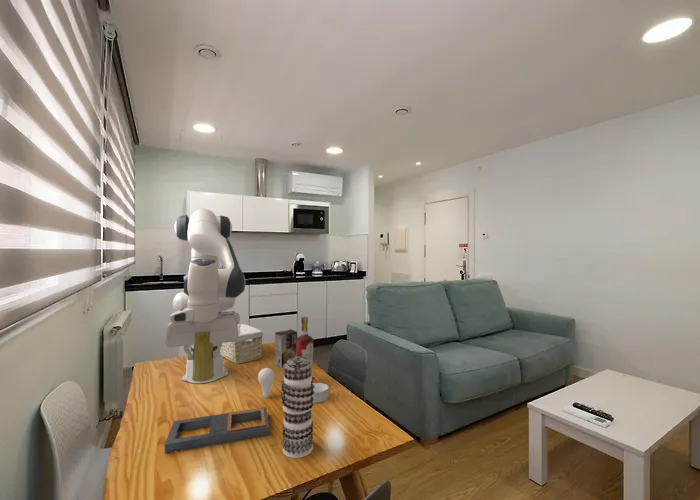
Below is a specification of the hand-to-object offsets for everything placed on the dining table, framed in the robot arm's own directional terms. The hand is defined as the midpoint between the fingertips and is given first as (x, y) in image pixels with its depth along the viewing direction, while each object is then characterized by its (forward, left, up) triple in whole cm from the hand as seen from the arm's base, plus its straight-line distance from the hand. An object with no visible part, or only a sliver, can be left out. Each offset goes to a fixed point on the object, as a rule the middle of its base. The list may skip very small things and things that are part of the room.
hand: (203, 358), depth 98 cm
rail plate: (0, +5, -23) cm, 24 cm away
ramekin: (-13, +38, -23) cm, 46 cm away
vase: (0, 0, -6) cm, 6 cm away
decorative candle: (+16, +26, -23) cm, 38 cm away
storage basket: (-74, +10, -23) cm, 79 cm away
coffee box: (-54, +32, -23) cm, 67 cm away
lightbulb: (-20, +20, -23) cm, 37 cm away
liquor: (-27, +36, -23) cm, 51 cm away
